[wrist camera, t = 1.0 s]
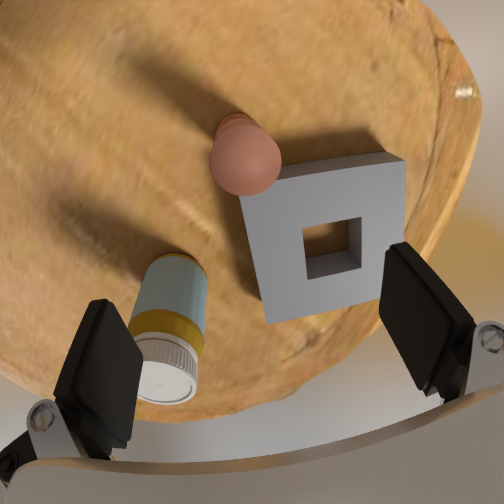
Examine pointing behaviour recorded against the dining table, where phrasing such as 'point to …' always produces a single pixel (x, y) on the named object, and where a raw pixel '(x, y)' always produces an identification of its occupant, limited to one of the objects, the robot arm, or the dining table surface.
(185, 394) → the bottle
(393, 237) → the socket block
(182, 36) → the dining table surface
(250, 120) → the peg
